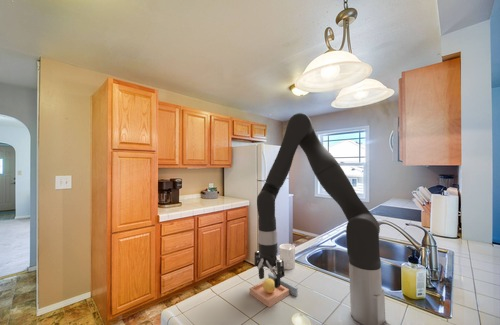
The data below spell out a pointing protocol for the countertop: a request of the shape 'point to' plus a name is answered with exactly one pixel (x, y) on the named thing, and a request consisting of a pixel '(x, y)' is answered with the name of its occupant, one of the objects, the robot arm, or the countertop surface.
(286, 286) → the fence
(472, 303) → the countertop surface
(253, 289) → the pink square tray
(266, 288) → the ball
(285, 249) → the white cup
